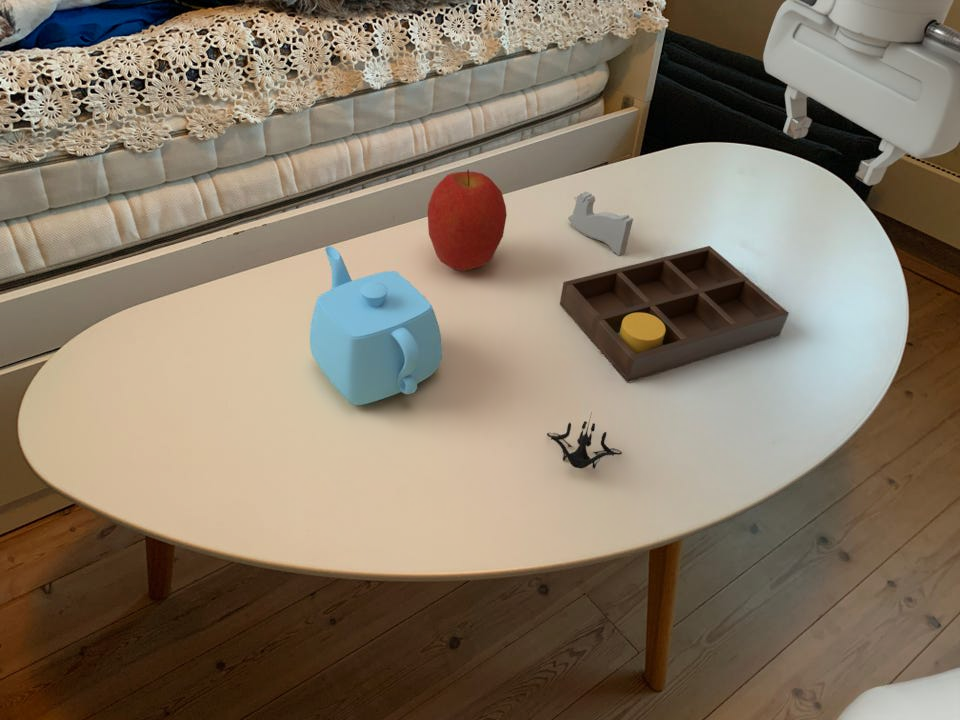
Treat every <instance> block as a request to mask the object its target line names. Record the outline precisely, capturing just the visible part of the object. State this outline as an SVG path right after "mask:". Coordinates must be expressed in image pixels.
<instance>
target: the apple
mask: <svg viewBox="0 0 960 720" xmlns="http://www.w3.org/2000/svg"><path fill="white" fill-rule="evenodd" d="M503 195H504V194H503V192H502V190H501V189H500V188H499V187H498V186H497V185H496V183H495V182H494V181H493V179H491V178H490V177H489V176H487V175H486V174H485V173H481V172H476V171H469V169H468V168H467V170H466V171H458V172H452V173H448V174H446V176H444V178H443V179H441V180H440V181H439V182H438V184H437V185H436V186H435V187H434V188H433V191H432V193H431V195H430V199H429V201H428V205H427V226H428V235H429V238H430V241H431V244H432V246H433V249H434V252H435V255H436V257H437V258H438V259H439V261H440V263H442V264H444V265H445V266H446V267H449V268H451V269H454V270H456V271H461V272H463V271H470V270H473V269H476V268H479V267H482V266H483V265H486V264H487V263H489V262H491V260H492V258H493V257H494V255H495V253H496V251H497V249H498V248H499V245H500V243H501V241H502V239H503V238H504V233H505V227H506V222H507V216H508V214H507V206H506V202H505V199H504V196H503Z"/></svg>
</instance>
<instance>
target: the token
mask: <svg viewBox="0 0 960 720" xmlns="http://www.w3.org/2000/svg"><path fill="white" fill-rule="evenodd" d="M665 331H666V329H665V325H664V324H663V322H662V321H661V320H660V319H658V318H657V317H655V316H653V315H651V314H647V313H640V312H638V313H631V314H629V315H627V316H626V317H625V318H624V319H623V321H622V325H621V329H620V333H619V337H620V338H621V339H622V340H623V341H624V342H625V343H626V344H627V345H628V347H629V348H630V349H631V350H632V351H633V352H634V353H635V354H636V353H640V352H643V351H647V350H650V349H653V348H657V347H660V346H661V345H662V342H663V338H664V335H665Z"/></svg>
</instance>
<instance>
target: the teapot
mask: <svg viewBox="0 0 960 720" xmlns="http://www.w3.org/2000/svg"><path fill="white" fill-rule="evenodd" d="M325 254H326V257H327V260H328V261H329V266H330V271H331V287H330V288H331V289H329V290H327V291H325V292H324V293H322V294H321V295H319V296H317V298H316V301H315V304H314V307H313V312H312V316H311V322H310V329H309V347H310V351H311V355H312V357H313V359H314V361H315V362H316V364H317V366H318V367H319V369H320V370H321V372H322V373H323V374H324V376H325V377H326V378H327V380H328V382H330V383H331V385H332V386H333V387H334V388H335V389H336V390H337V391H338V393H339V394H340V395H341V396H342V397H343V398H344V399H345V400H346V401H347V402H348V403H349V404H351V405H354V406H360V405H361V406H362V405H368V404H371V403H374V402H377V401H380V400H383V399H387V398H390V397H392V396H396V395H398V394H400V393H402V394H404V395H412V394H414V393H415V392H416V391H417V389H418V384H419V383H421V382H423V381H425V380H426V379H428V378H429V377H431V376H432V375H433V374H434V373H436V372H437V370H438V368H439V366H440V365H441V362H442V359H443V342H442V334H441V330H440V325H439V322H438V319H437V316H436V313H435V310H434V308H433V305H432V304H431V302H430V301H429V300H428V299H427V298H426V296H424V295H423V294H422V293H421V292H420V291H419V289H417V288H416V287H415V286H414V285H413V284H412V283H411V282H410V281H408V280H407V279H406V277H404V276H403V275H401V274H400V273H399V272H398V271H395V270H387V271H381V272H376V273H373V274H369V275H365V276H362V277H360V278H356V279H354V280H352V278H351V275H350V273H349V271H348V269H347V266H346V264H345V261H344V259H343V258H342V255H341V253H340V252H339V251H338V250H337V249H336V248H335V247H333V246H332V245H328V246H325Z"/></svg>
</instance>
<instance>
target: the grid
mask: <svg viewBox="0 0 960 720" xmlns="http://www.w3.org/2000/svg"><path fill="white" fill-rule="evenodd" d="M559 305H560V306H561V307H562V309H563V310H564V311H565V312H566V313H567V315H568V316H569V317H570V318H571V319H572V320H573V321H574V323H575V324H576V325H577V326H578V327H579V328H580V330H581V331H582V332H583V333H584V334H585V336H587V338H588V339H589V340H590V341H591V342H592V343H593V345H594V346H595V347H596V348H597V349H598V350H599V351H600V353H601V354H602V355H603V356H604V357H605V359H606V360H607V361H608V362H609V363H610V364H611V366H613V368H614V369H615V370H616V371H617V372H618V373H619V375H620V376H621V377H622V378H623V379H624V381H626V383H631V382H634V381H637V380H640V379H644V378H647V377H649V376H653V375H657V374H659V373H663V372H666V371H669V370H672V369H676V368H678V367H681V366H685V365H688V364H691V363H695V362H698V361H700V360H704V359H707V358H711V357H713V356H717V355H721V354H724V353H726V352H730V351H732V350H736V349H739V348H743V347H745V346H749V345H752V344H755V343H758V342H762V341H765V340H769V339H771V338H775V337H778V336H781V333H782V331H783V329H784V326H785V323H786V321H787V319H788V316H789V315H790V312H788V311H787V310H786V309H785V308H784V307H782V306H781V305H780V304H779V303H778V302H777V301H775V300H774V299H773V298H772V297H771V296H769V294H767V293H766V292H765V291H764V290H762V289H761V288H760V287H759V286H758V285H756V284H755V283H754V282H753V281H752V280H751V279H750V278H749V277H747V276H746V275H745V274H744V273H742V271H740V270H739V269H738V268H737V267H735V266H734V265H733V264H732V263H731V262H729V261H728V260H727V258H725V257H724V256H722V255H721V254H720V253H719V252H718V251H716V250H715V249H714V248H713V247H712V246H711V245H707V246H702V247H700V248H695V249H691V250H687V251H682V252H679V253H674V254H671V255H667V256H663V257H658V258H654V259H649V260H646V261H644V262H643V261H642V262H639V263H634V264H631V265H626V266H623V267H618V268H614V269H611V270H606V271H603V272H598V273H594V274H590V275H585V276H582V277H579V278H574V279H569V280H565V281H563V283H562V288H561V293H560V301H559ZM638 312H640V313H647V314H651V315H653V316H655V317H657V318H658V319H660V320H661V321H662V322H663V324H664V325H665V329H666V331H665V335H664V338H663V342H662V345H661V346H660V347H657V348H653V349H650V350H647V351H643V352H640V353H636V354H635V353H634V352H633V351H632V350H631V349H630V348H629V347H628V345H627V344H626V343H625V342H624V341H623V340H622V339H621V338H620V337H619V333H620V329H621V325H622V321H623V319H624V318H625V317H626V316H627V315H629V314H631V313H638Z"/></svg>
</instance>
